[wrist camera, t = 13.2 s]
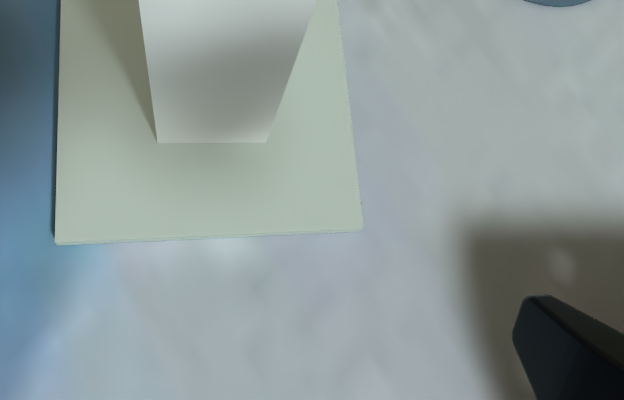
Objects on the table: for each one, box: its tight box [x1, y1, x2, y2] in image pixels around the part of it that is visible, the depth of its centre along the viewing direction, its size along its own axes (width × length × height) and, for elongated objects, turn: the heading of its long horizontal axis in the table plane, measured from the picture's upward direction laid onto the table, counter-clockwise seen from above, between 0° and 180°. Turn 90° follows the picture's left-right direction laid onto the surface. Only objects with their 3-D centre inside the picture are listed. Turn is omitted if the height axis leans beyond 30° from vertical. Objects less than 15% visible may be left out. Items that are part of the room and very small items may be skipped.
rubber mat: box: [55, 0, 364, 245], centre depth 24 cm, size 12×12×1 cm
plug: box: [139, 0, 317, 143], centre depth 18 cm, size 4×4×12 cm
